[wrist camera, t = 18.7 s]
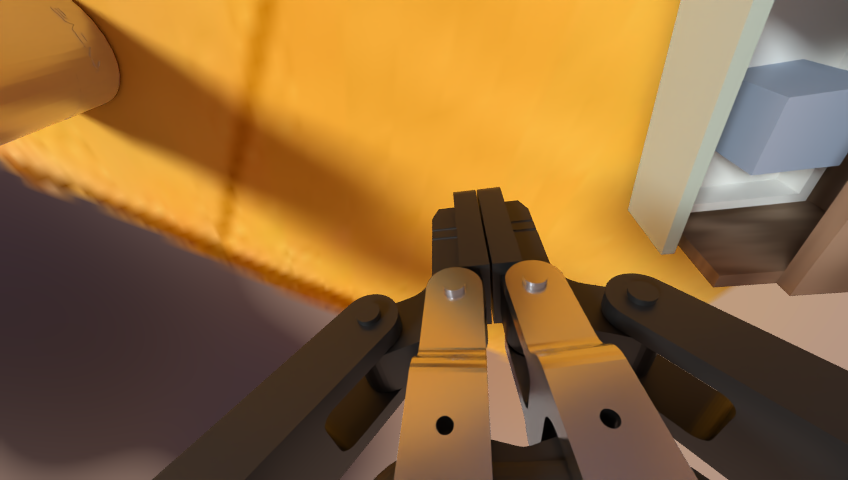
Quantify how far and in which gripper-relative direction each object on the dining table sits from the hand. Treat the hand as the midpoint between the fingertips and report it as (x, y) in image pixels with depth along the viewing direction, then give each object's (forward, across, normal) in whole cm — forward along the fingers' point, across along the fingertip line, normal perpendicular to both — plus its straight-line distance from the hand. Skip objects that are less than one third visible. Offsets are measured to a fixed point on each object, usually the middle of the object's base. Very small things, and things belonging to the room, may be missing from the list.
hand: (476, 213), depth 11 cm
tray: (+18, -21, +5) cm, 28 cm away
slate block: (+17, -22, +4) cm, 28 cm away
